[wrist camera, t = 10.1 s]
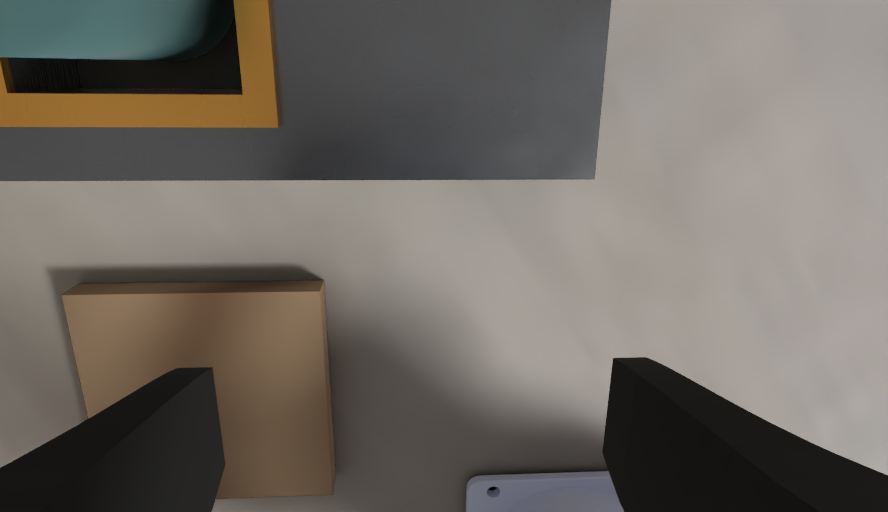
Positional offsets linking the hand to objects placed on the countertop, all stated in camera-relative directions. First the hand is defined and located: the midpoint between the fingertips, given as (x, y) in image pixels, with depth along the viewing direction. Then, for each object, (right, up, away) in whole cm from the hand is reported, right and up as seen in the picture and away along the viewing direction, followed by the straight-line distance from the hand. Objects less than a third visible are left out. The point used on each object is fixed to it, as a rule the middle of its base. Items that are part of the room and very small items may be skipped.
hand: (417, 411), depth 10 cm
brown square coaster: (-8, -2, +10) cm, 13 cm away
